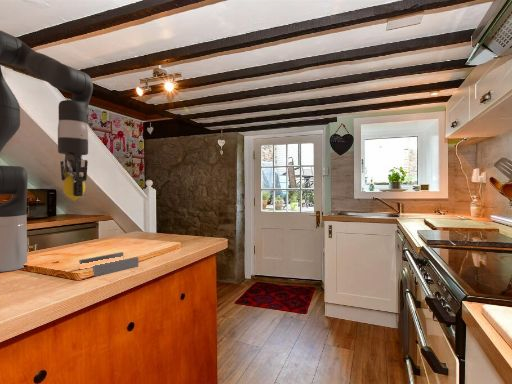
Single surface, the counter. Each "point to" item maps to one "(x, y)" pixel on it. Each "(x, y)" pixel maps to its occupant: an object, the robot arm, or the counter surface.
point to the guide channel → (111, 264)
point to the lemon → (70, 188)
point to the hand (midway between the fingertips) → (73, 195)
